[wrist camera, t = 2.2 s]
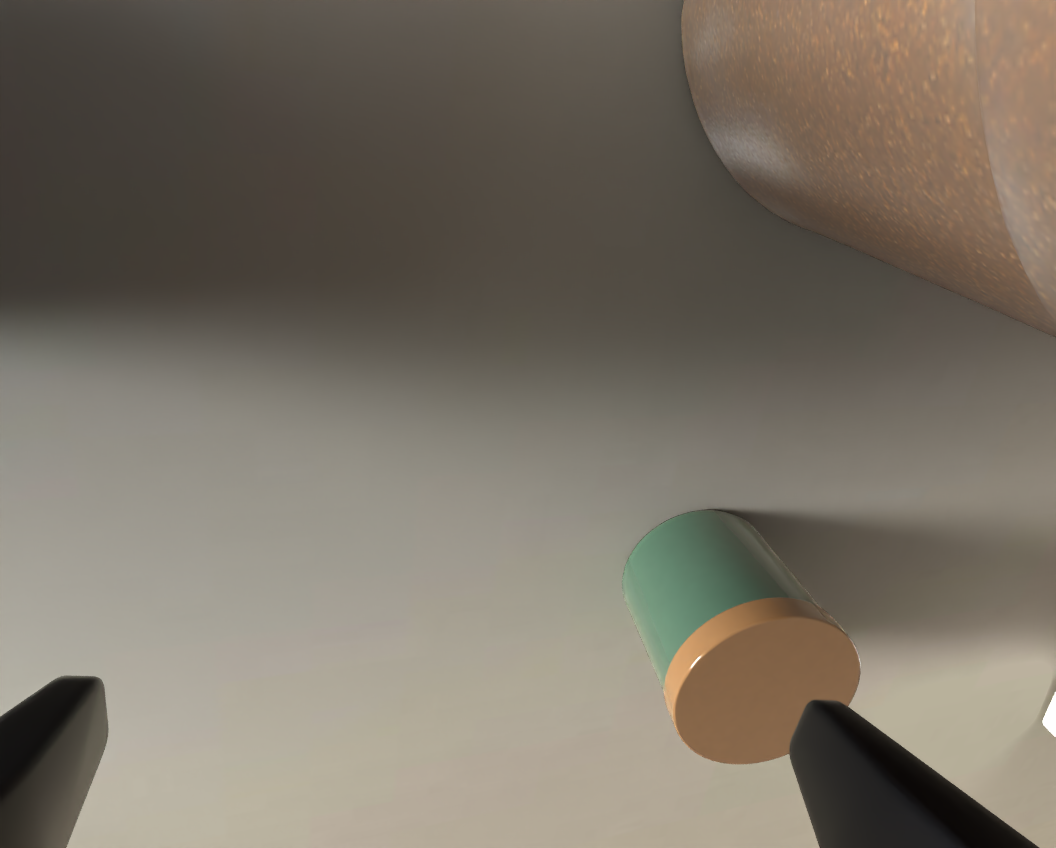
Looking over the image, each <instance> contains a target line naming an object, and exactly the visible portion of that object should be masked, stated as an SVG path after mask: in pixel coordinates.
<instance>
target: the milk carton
mask: <svg viewBox="0 0 1056 848" xmlns="http://www.w3.org/2000/svg"><path fill="white" fill-rule="evenodd" d="M1042 723H1043V725H1044V726H1045V727H1046V728H1047V729H1048V730H1049V731H1050V732H1051V733H1052V734H1053V735H1054V736H1055V737H1056V692H1055V694H1054V696H1053V698H1052V701H1051V703H1050V705H1049V707H1048V709H1047V712H1046V714H1045V716H1044V719H1043V722H1042Z"/></svg>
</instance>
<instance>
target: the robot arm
mask: <svg viewBox="0 0 1056 848" xmlns="http://www.w3.org/2000/svg"><path fill="white" fill-rule="evenodd" d="M107 738H108V719H107V709H106V699H105V689H104V684H103V682H102V680H101V679H100V678H98V677H95V676H62V677H59V678H57V679H55V680H53V681H51V682H50V683H49V684H47V685H46V686H44V687H43V688H41V689H40V690H38V691H37V692H35V693H34V694H33V695H31V696H30V697H28V698H27V699H25V700H24V701H22V702H21V703H19V704H18V705H17V706H15V707H14V708H12V709H11V710H9V711H8V712H6V713H5V714H3V715H2V716H1V717H0V848H66V847H67V844H68V842H69V839H70V837H71V834H72V832H73V829H74V826H75V824H76V821H77V819H78V816H79V814H80V811H81V809H82V806H83V803H84V801H85V798H86V796H87V793H88V791H89V788H90V786H91V783H92V780H93V778H94V775H95V773H96V770H97V768H98V765H99V763H100V760H101V758H102V755H103V752H104V750H105V746H106V743H107ZM789 753H790V759H791V763H792V766H793V769H794V772H795V775H796V778H797V781H798V784H799V787H800V790H801V793H802V796H803V799H804V802H805V805H806V808H807V811H808V814H809V817H810V820H811V823H812V826H813V829H814V832H815V835H816V838H817V841H818V844H819V847H820V848H1039V847H1038V846H1036V845H1035V844H1034V843H1032V842H1031V841H1029V840H1028V839H1027V838H1025V837H1024V836H1023V835H1021V834H1020V833H1019V832H1017V831H1016V830H1015V829H1013V828H1012V827H1010V826H1009V825H1008V824H1006V823H1005V822H1004V821H1002V820H1001V819H1000V818H998V817H997V816H996V815H994V814H993V813H991V812H990V811H989V810H987V809H986V808H985V807H983V806H982V805H981V804H979V803H978V802H977V801H975V800H974V799H973V798H971V797H970V796H968V795H967V794H966V793H964V792H963V791H962V790H960V789H959V788H958V787H956V786H955V785H954V784H952V783H951V782H949V781H948V780H947V779H945V778H944V777H943V776H941V775H940V774H939V773H937V772H936V771H935V770H933V769H932V768H930V767H929V766H928V765H926V764H925V763H924V762H922V761H921V760H920V759H918V758H917V757H916V756H914V755H913V754H911V753H910V752H909V751H907V750H906V749H905V748H903V747H902V746H901V745H899V744H898V743H897V742H895V741H894V740H892V739H891V738H890V737H888V736H887V735H886V734H884V733H883V732H882V731H880V730H879V729H878V728H876V727H875V726H873V725H872V724H871V723H869V722H868V721H867V720H865V719H864V718H863V717H861V716H860V715H859V714H857V713H856V712H854V711H853V710H852V709H850V708H849V707H848V706H846V705H845V704H843V703H842V702H839V701H836V700H811V701H810V702H809V703H808V704H807V705H806V706H805V708H804V711H803V713H802V715H801V717H800V720H799V722H798V724H797V726H796V728H795V731H794V733H793V735H792V737H791V740H790V745H789Z"/></svg>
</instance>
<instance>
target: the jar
mask: <svg viewBox="0 0 1056 848" xmlns="http://www.w3.org/2000/svg"><path fill="white" fill-rule="evenodd" d="M622 591H623V596H624V600H625V602H626V605H627V607H628V610H629V612H630V614H631V617H632V619H633V621H634V624H635V626H636V628H637V631H638V633H639V635H640V638H641V640H642V642H643V645H644V647H645V649H646V652H647V654H648V657H649V659H650V661H651V664H652V666H653V668H654V671H655V673H656V675H657V678H658V680H659V682H660V685H661V687H662V689H663V692H664V698H665V703H666V707H667V709H668V712H669V714H670V716H671V719H672V721H673V724H674V726H675V728H676V731H677V733H678V735H679V736H680V738H681V740H682V741H683V742H684V743H685V744H686V745H687V746H688V747H689V748H690V749H691V750H693V751H694V752H695V753H697V754H698V755H700V756H702V757H704V758H707V759H709V760H712V761H716V762H720V763H726V764H752V763H759V762H764V761H769V760H772V759H776V758H779V757H782V756H784V755H787V754H790V753H789V745H790V740H791V737H792V735H793V733H794V731H795V728H796V726H797V724H798V722H799V720H800V717H801V715H802V713H803V711H804V708H805V706H806V705H807V704H808V703H809V702H810V701H811V700H836V701H839V702H842V703H843V704H845V705H846V706H849V704H850V702H851V701H852V699H853V697H854V695H855V692H856V690H857V687H858V684H859V679H860V659H859V654H858V651H857V649H856V646H855V644H854V643H853V641H852V640H851V638H850V637H849V636H848V634H847V633H846V632H845V631H844V630H843V628H842V627H841V626H840V625H839V624H838V622H837V621H836V620H835V619H834V618H833V617H832V616H831V615H830V614H829V613H828V612H826V611H825V610H824V609H822V608H821V607H820V606H819V605H818V604H817V603H816V601H815V600H814V599H813V598H812V597H811V595H810V594H809V593H808V592H807V591H806V589H805V588H804V587H803V586H802V585H801V583H800V582H799V581H798V580H797V579H796V577H795V576H794V575H793V574H792V573H791V571H790V570H789V569H788V568H787V567H786V565H785V564H784V563H783V562H782V561H781V559H780V558H779V557H778V556H777V555H776V553H775V552H774V551H773V550H772V549H771V547H770V546H769V545H768V544H767V543H766V541H765V540H764V539H763V538H762V536H761V535H760V534H759V533H758V532H757V530H756V529H755V528H754V527H753V526H752V525H751V524H750V523H748V522H747V521H746V520H744V519H742V518H740V517H739V516H737V515H734V514H731V513H728V512H723V511H717V510H699V511H693V512H688V513H685V514H681V515H678V516H676V517H673V518H671V519H669V520H667V521H665V522H663V523H661V524H660V525H659V526H657V527H656V528H654V529H653V530H652V531H650V532H649V533H648V534H647V535H646V536H645V537H644V538H643V539H642V540H641V541H640V542H639V543H638V544H637V546H636V547H635V548H634V550H633V551H632V553H631V555H630V557H629V558H628V561H627V563H626V566H625V569H624V573H623V580H622Z"/></svg>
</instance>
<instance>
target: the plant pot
mask: <svg viewBox="0 0 1056 848" xmlns="http://www.w3.org/2000/svg"><path fill="white" fill-rule="evenodd" d="M681 25H682V49H683V56H684V63H685V70H686V75H687V79H688V83H689V87H690V91H691V95H692V98H693V102H694V105H695V108H696V111H697V114H698V116H699V119H700V122H701V124H702V126H703V128H704V130H705V133H706V135H707V137H708V139H709V141H710V142H711V144H712V146H713V148H714V149H715V151H716V153H717V155H718V156H719V158H720V159H721V161H722V162H723V164H724V165H725V167H726V168H727V170H728V171H729V172H730V174H731V175H732V176H733V177H734V179H735V180H736V181H737V182H738V183H739V184H740V186H741V187H742V188H743V189H744V190H745V191H746V192H747V193H748V194H749V195H750V196H752V197H753V198H754V199H755V200H756V201H757V202H759V203H760V204H761V205H763V206H764V207H765V208H767V209H768V210H769V211H771V212H772V213H774V214H776V215H777V216H779V217H781V218H782V219H784V220H786V221H788V222H790V223H792V224H795V225H797V226H799V227H801V228H804V229H807V230H810V231H813V232H815V233H818V234H820V235H823V236H825V237H827V238H830V239H832V240H835V241H837V242H839V243H842V244H844V245H847V246H849V247H851V248H854V249H856V250H858V251H860V252H863V253H865V254H867V255H870V256H872V257H874V258H876V259H879V260H881V261H883V262H886V263H888V264H890V265H892V266H895V267H897V268H899V269H902V270H904V271H906V272H908V273H911V274H913V275H915V276H918V277H920V278H922V279H924V280H927V281H929V282H931V283H934V284H936V285H938V286H940V287H943V288H945V289H947V290H950V291H952V292H954V293H957V294H959V295H961V296H963V297H966V298H968V299H970V300H973V301H975V302H977V303H980V304H982V305H984V306H986V307H989V308H991V309H993V310H996V311H998V312H1000V313H1002V314H1005V315H1007V316H1009V317H1011V318H1014V319H1016V320H1018V321H1020V322H1023V323H1025V324H1027V325H1029V326H1031V327H1034V328H1036V329H1038V330H1040V331H1043V332H1045V333H1047V334H1049V335H1052V336H1054V337H1056V0H684V3H683V9H682V15H681Z"/></svg>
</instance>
